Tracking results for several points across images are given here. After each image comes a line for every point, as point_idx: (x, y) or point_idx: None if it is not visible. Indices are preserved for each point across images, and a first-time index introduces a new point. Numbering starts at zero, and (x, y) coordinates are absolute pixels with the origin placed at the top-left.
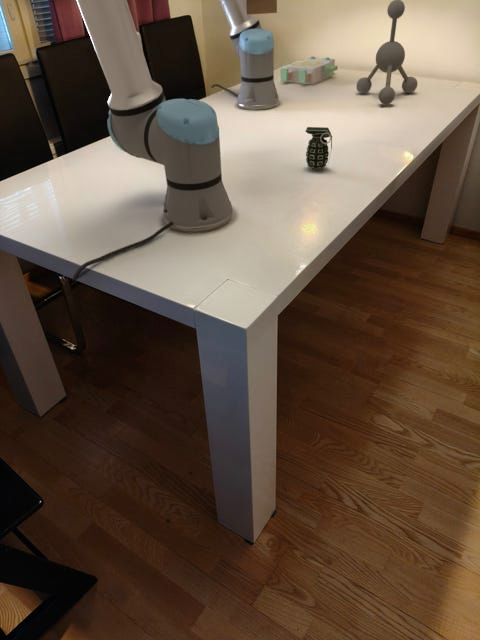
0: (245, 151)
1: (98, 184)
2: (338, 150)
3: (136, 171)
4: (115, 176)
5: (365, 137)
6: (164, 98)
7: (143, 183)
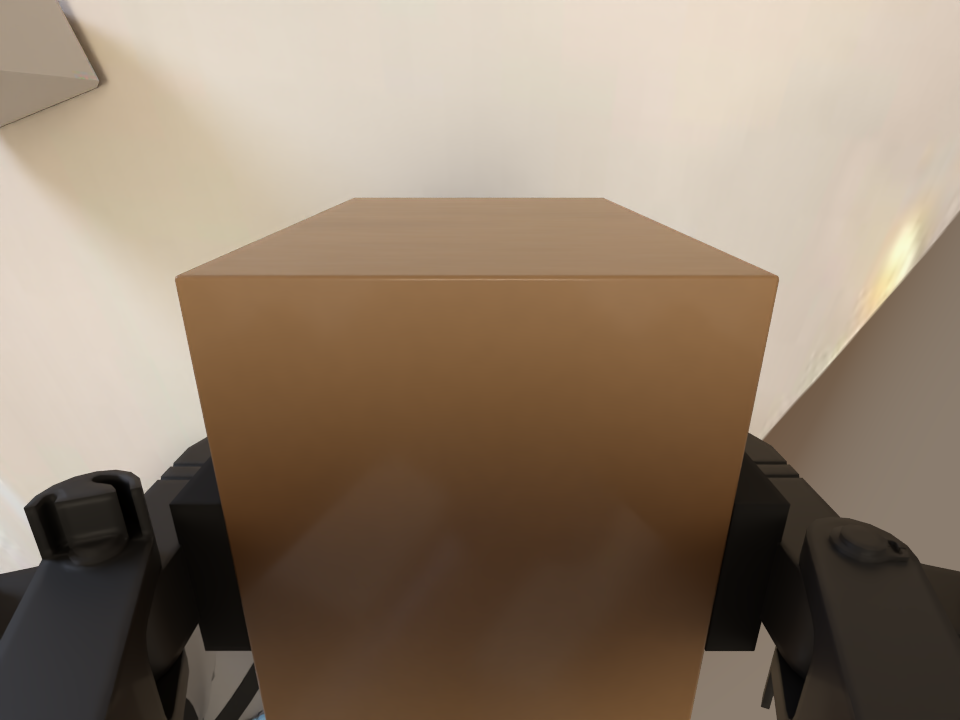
0: (412, 174)
1: (53, 404)
2: (714, 191)
3: (114, 323)
4: (70, 355)
5: (845, 54)
6: (196, 705)
7: (171, 404)
